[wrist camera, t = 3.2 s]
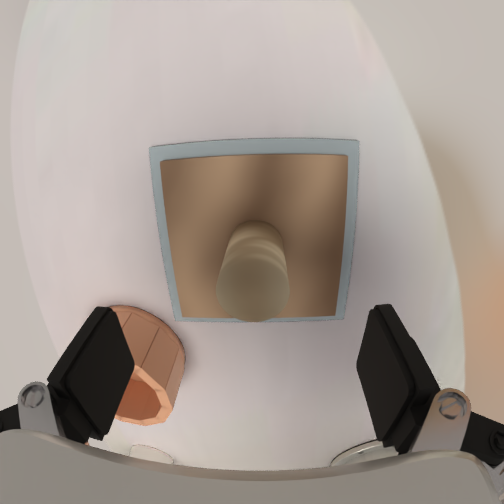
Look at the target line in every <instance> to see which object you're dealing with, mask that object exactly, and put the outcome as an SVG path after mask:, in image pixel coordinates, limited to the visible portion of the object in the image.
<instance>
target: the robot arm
mask: <svg viewBox="0 0 504 504" xmlns="http://www.w3.org/2000/svg"><path fill="white" fill-rule="evenodd" d="M134 368H135V362H134V359H133V357H132V354H131V351H130V349H129V346H128V344H127V341H126V338H125V336H124V333H123V330H122V328H121V325H120V322H119V319H118V316H117V314H116V312H114V311H113V309H112V308H110V307H96V308H95V309H94V311H93V312H92V313H91V315H90V316H89V317H88V319H87V320H86V322H85V323H84V324H83V326H82V327H81V329H80V330H79V331H78V333H77V334H76V336H75V337H74V339H73V340H72V341H71V343H70V344H69V346H68V347H67V349H66V350H65V352H64V353H63V355H62V356H61V358H60V359H59V361H58V362H57V364H56V365H55V367H54V368H53V370H52V372H51V373H50V375H49V377H48V378H47V380H48V382H49V383H48V385H47V386H46V385H45V384H44V383H42V382H32V383H30V384H28V385H26V386H25V387H24V388H23V389H22V390H21V391H20V393H19V396H18V404H16V405H13V406H11V407H9V408H6V409H4V410H2V411H0V504H504V425H503V424H501V423H498V422H496V421H493V420H491V419H488V418H486V417H484V416H481V415H479V414H476V413H474V412H472V411H471V403H470V400H469V399H468V397H467V396H466V395H465V394H464V393H463V392H461V391H459V390H457V389H453V388H446V389H443V390H440V388H439V386H438V384H437V382H436V380H435V378H434V376H433V374H432V372H431V370H430V368H429V366H428V364H427V363H426V361H425V359H424V357H423V355H422V353H421V351H420V350H419V348H418V346H417V344H416V342H415V341H414V339H413V338H411V337H410V336H409V334H408V332H407V330H406V329H405V327H404V325H403V323H402V322H401V320H400V318H399V317H398V315H397V313H396V312H395V310H394V308H393V307H392V305H391V304H383V305H376V306H375V307H374V309H371V310H370V311H369V315H368V320H367V324H366V328H365V332H364V336H363V340H362V344H361V348H360V352H359V355H358V359H357V372H358V375H359V378H360V381H361V385H362V388H363V391H364V395H365V398H366V401H367V405H368V408H369V412H370V415H371V419H372V422H373V426H374V430H375V433H376V437H377V441H373V442H369V443H366V444H363V445H360V446H357V447H355V448H352V449H350V450H348V451H346V452H344V453H342V454H341V455H339V456H338V457H337V458H335V459H334V460H333V462H332V463H331V467H322V468H312V469H299V470H279V471H239V470H219V469H207V468H196V467H188V466H180V465H173V464H166V463H160V462H155V461H149V460H144V459H139V458H134V457H130V456H126V455H121V454H117V453H113V452H109V451H106V450H102V449H99V448H95V447H91V446H89V443H88V439H89V437H90V438H93V439H97V440H100V441H102V440H103V437H104V435H106V434H108V432H109V430H110V427H111V425H112V422H113V420H114V417H115V415H116V412H117V410H118V407H119V405H120V402H121V400H122V397H123V395H124V392H125V390H126V387H127V385H128V383H129V380H130V378H131V376H132V373H133V371H134Z"/></svg>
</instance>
